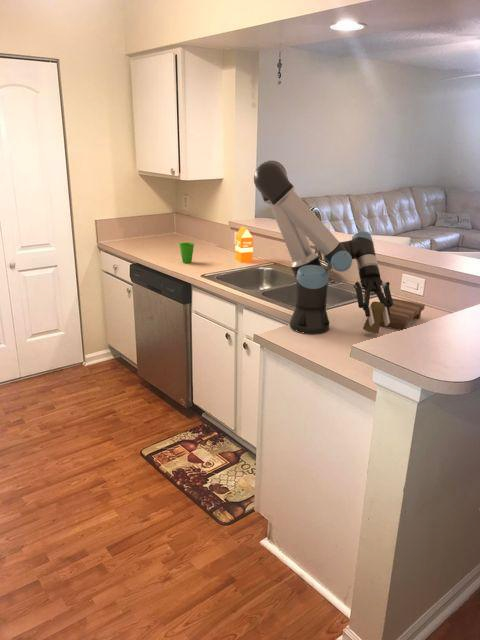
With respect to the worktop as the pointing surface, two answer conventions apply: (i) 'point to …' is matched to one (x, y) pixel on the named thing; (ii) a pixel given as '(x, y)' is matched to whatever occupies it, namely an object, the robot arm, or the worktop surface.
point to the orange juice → (244, 245)
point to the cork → (375, 317)
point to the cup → (186, 251)
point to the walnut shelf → (402, 313)
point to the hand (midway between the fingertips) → (379, 324)
